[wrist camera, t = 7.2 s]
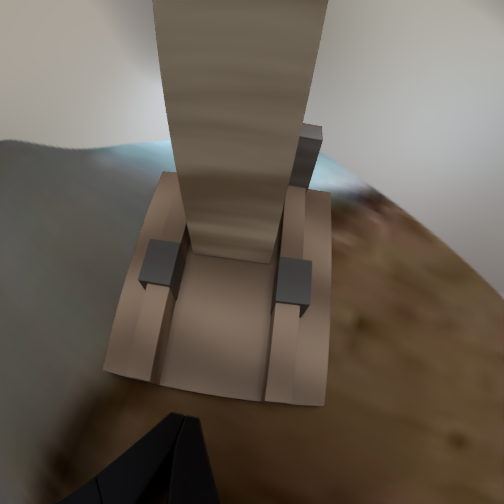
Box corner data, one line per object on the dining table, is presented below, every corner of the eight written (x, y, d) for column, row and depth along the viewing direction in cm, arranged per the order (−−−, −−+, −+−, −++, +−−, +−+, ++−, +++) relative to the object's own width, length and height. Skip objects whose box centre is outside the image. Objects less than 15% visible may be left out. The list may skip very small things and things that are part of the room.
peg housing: (316, 406, 16) (371, 402, 9) (112, 373, 16) (45, 347, 9) (325, 205, 23) (355, 128, 16) (165, 184, 23) (148, 104, 16)
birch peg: (269, 264, 18) (331, -18, 5) (193, 253, 18) (150, -25, 5) (275, 202, 20) (320, -36, 7) (208, 194, 20) (197, -44, 7)
